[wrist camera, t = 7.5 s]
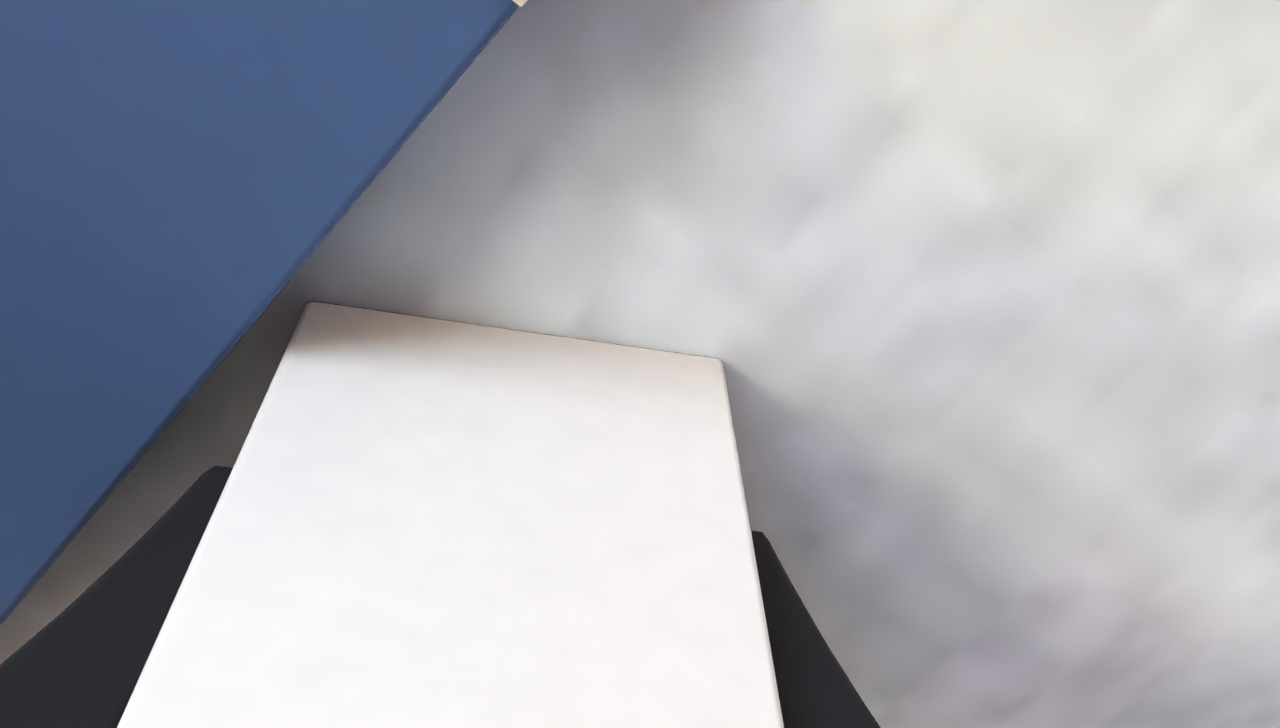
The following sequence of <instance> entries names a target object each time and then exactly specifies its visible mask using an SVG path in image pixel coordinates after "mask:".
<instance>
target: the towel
mask: <svg viewBox="0 0 1280 728" xmlns="http://www.w3.org/2000/svg"><path fill="white" fill-rule="evenodd" d="M527 1H528V0H0V626H1V624H2V623H3V622H4V621H5V620H6V618H7V617H8V616H9V615H10V614H11V612H12V611H13V610H14V609H15V608H16V606H17V605H18V604H19V603H20V602H21V600H22V599H23V598H24V597H25V596H26V594H27V593H28V592H29V591H30V590H31V589H32V587H33V586H34V585H35V584H36V583H37V581H38V580H39V579H40V578H41V577H42V575H43V574H44V573H45V572H46V571H47V569H48V568H49V567H50V566H51V565H52V563H53V562H54V561H55V560H56V559H57V557H58V556H59V555H60V554H61V553H62V551H63V550H64V549H65V548H66V547H67V546H68V544H69V543H70V542H71V541H72V540H73V538H74V537H75V536H76V535H77V534H78V532H79V531H80V530H81V529H82V528H83V526H84V525H85V524H86V523H87V522H88V520H89V519H90V518H91V517H92V516H93V514H94V513H95V512H96V511H97V510H98V508H99V507H100V506H101V505H102V504H103V503H104V501H105V500H106V499H107V498H108V497H109V495H110V494H111V493H112V492H113V491H114V489H115V488H116V487H117V486H118V485H119V483H120V482H121V481H122V480H123V479H124V477H125V476H126V475H127V474H128V473H129V471H130V470H131V469H132V468H133V467H134V465H135V464H136V463H137V462H138V461H139V460H140V458H141V457H142V456H143V455H144V454H145V452H146V451H147V450H148V449H149V448H150V446H151V445H152V444H153V443H154V442H155V440H156V439H157V438H158V437H159V436H160V434H161V433H162V432H163V431H164V430H165V428H166V427H167V426H168V425H169V424H170V422H171V421H172V420H173V419H174V418H175V417H176V415H177V414H178V413H179V412H180V411H181V409H182V408H183V407H184V406H185V405H186V403H187V402H188V401H189V400H190V399H191V397H192V396H193V395H194V394H195V393H196V391H197V390H198V389H199V388H200V387H201V385H202V384H203V383H204V382H205V381H206V380H207V378H208V377H209V376H210V375H211V374H212V372H213V371H214V370H215V369H216V368H217V366H218V365H219V364H220V363H221V362H222V360H223V359H224V358H225V357H226V356H227V354H228V353H229V352H230V351H231V350H232V348H233V347H234V346H235V345H236V344H237V342H238V341H239V340H240V339H241V338H242V337H243V335H244V334H245V333H246V332H247V331H248V329H249V328H250V327H251V326H252V325H253V323H254V322H255V321H256V320H257V319H258V317H259V316H260V315H261V314H262V313H263V311H264V310H265V309H266V308H267V307H268V305H269V304H270V303H271V302H272V301H273V299H274V298H275V297H276V296H277V295H278V294H279V292H280V291H281V290H282V289H283V288H284V286H285V285H286V284H287V283H288V282H289V280H290V279H291V278H292V277H293V276H294V274H295V273H296V272H297V271H298V270H299V268H300V267H301V266H302V265H303V264H304V262H305V261H306V260H307V259H308V258H309V256H310V255H311V254H312V253H313V252H314V251H315V249H316V248H317V247H318V246H319V245H320V243H321V242H322V241H323V240H324V239H325V237H326V236H327V235H328V234H329V233H330V231H331V230H332V229H333V228H334V227H335V225H336V224H337V223H338V222H339V221H340V219H341V218H342V217H343V216H344V215H345V213H346V212H347V211H348V210H349V209H350V208H351V206H352V205H353V204H354V203H355V202H356V200H357V199H358V198H359V197H360V196H361V194H362V193H363V192H364V191H365V190H366V188H367V187H368V186H369V185H370V184H371V182H372V181H373V180H374V179H375V178H376V176H377V175H378V174H379V173H380V172H381V171H382V169H383V168H384V167H385V166H386V165H387V163H388V162H389V161H390V160H391V159H392V157H393V156H394V155H395V154H396V153H397V151H398V150H399V149H400V148H401V147H402V145H403V144H404V143H405V142H406V141H407V139H408V138H409V137H410V136H411V135H412V133H413V132H414V131H415V130H416V129H417V128H418V126H419V125H420V124H421V123H422V122H423V120H424V119H425V118H426V117H427V116H428V114H429V113H430V112H431V111H432V110H433V108H434V107H435V106H436V105H437V104H438V102H439V101H440V100H441V99H442V98H443V96H444V95H445V94H446V93H447V92H448V90H449V89H450V88H451V87H452V86H453V85H454V83H455V82H456V81H457V80H458V79H459V77H460V76H461V75H462V74H463V73H464V71H465V70H466V69H467V68H468V67H469V65H470V64H471V63H472V62H473V61H474V59H475V58H476V57H477V56H478V55H479V53H480V52H481V51H482V50H483V49H484V47H485V46H486V45H487V44H488V43H489V42H490V40H491V39H492V38H493V37H494V36H495V34H496V33H497V32H498V31H499V30H500V28H501V27H502V26H503V25H504V24H505V22H506V21H507V20H508V19H509V18H510V16H511V15H512V14H513V13H514V12H515V10H516V9H517V8H518V7H523V6H524V4H525V3H526V2H527Z"/></svg>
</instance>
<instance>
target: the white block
mask: <svg viewBox="0 0 1280 728" xmlns="http://www.w3.org/2000/svg"><path fill="white" fill-rule="evenodd" d="M117 728H784V724H783V718H782V712H781V706H780V700H779V694H778V688H777V682H776V676H775V670H774V664H773V658H772V653H771V647H770V641H769V635H768V629H767V623H766V617H765V611H764V605H763V599H762V593H761V587H760V581H759V575H758V569H757V563H756V557H755V551H754V546H753V540H752V534H751V528H750V522H749V516H748V510H747V504H746V498H745V492H744V486H743V480H742V474H741V468H740V462H739V456H738V450H737V444H736V439H735V433H734V427H733V421H732V415H731V409H730V403H729V397H728V391H727V385H726V379H725V373H724V367H723V362H722V361H721V360H719V359H717V358H709V357H702V356H695V355H688V354H681V353H674V352H667V351H660V350H653V349H645V348H638V347H631V346H624V345H617V344H610V343H603V342H596V341H589V340H582V339H574V338H567V337H560V336H553V335H546V334H539V333H532V332H525V331H518V330H510V329H503V328H496V327H489V326H482V325H475V324H468V323H461V322H454V321H447V320H439V319H432V318H425V317H418V316H411V315H404V314H397V313H390V312H383V311H375V310H368V309H361V308H354V307H347V306H340V305H333V304H326V303H319V302H310V303H308V304H307V305H306V307H305V308H304V311H303V313H302V315H301V317H300V319H299V322H298V324H297V326H296V328H295V331H294V333H293V335H292V337H291V340H290V342H289V344H288V346H287V349H286V351H285V353H284V355H283V357H282V360H281V362H280V364H279V366H278V369H277V371H276V373H275V375H274V378H273V380H272V382H271V384H270V387H269V389H268V391H267V393H266V395H265V398H264V400H263V402H262V404H261V407H260V409H259V411H258V413H257V416H256V418H255V420H254V422H253V425H252V427H251V429H250V431H249V433H248V436H247V438H246V440H245V442H244V445H243V447H242V449H241V451H240V454H239V456H238V458H237V460H236V463H235V465H234V467H233V469H232V471H231V474H230V476H229V478H228V480H227V483H226V485H225V487H224V489H223V492H222V494H221V496H220V498H219V501H218V503H217V505H216V507H215V509H214V512H213V514H212V516H211V518H210V521H209V523H208V525H207V527H206V530H205V532H204V534H203V536H202V539H201V541H200V543H199V545H198V547H197V550H196V552H195V554H194V556H193V559H192V561H191V563H190V565H189V568H188V570H187V572H186V574H185V577H184V579H183V581H182V583H181V585H180V588H179V590H178V592H177V594H176V597H175V599H174V601H173V603H172V606H171V608H170V610H169V612H168V615H167V617H166V619H165V621H164V623H163V626H162V628H161V630H160V632H159V635H158V637H157V639H156V641H155V644H154V646H153V648H152V650H151V653H150V655H149V657H148V659H147V661H146V664H145V666H144V668H143V670H142V673H141V675H140V677H139V679H138V682H137V684H136V686H135V688H134V691H133V693H132V695H131V697H130V699H129V702H128V704H127V706H126V708H125V711H124V713H123V715H122V717H121V720H120V722H119V724H118V726H117Z"/></svg>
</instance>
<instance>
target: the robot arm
mask: <svg viewBox="0 0 1280 728" xmlns="http://www.w3.org/2000/svg"><path fill="white" fill-rule="evenodd" d="M232 469H233V468H229V467H221V466H214V467H212V468H211V469H209V470H208V471H206V472H205V473H203V474H202V475H201V476H200V478H199V479H198V480H197V481H196V482H195V483H194V484H193V485H192V486H191V487H190V488H189V489H188V490H187V491H186V493H185V494H184V495H183V496H182V497H181V498H180V499H179V500H178V501H177V502H176V503H175V504H174V505H173V506H172V507H171V508H170V509H169V510H168V511H167V512H166V513H165V514H164V516H163V517H162V518H161V519H160V520H159V521H158V522H157V523H156V524H155V525H154V526H153V527H152V528H151V529H150V530H149V531H148V532H147V533H146V534H145V535H144V536H143V537H142V538H141V539H140V540H139V541H138V542H137V543H136V544H135V545H134V546H133V547H132V548H131V549H129V550H128V551H127V552H126V553H125V554H124V555H123V556H122V557H121V558H120V559H119V560H118V561H117V562H116V563H115V564H114V565H113V566H112V567H111V568H110V569H108V570H107V571H106V572H105V573H104V574H103V575H102V576H101V577H100V578H99V579H98V580H97V581H96V582H95V583H93V584H92V585H91V586H90V587H89V588H88V589H87V590H86V591H85V592H84V593H83V594H82V595H81V596H79V597H78V598H77V599H76V600H75V601H74V602H73V603H72V604H71V605H70V606H69V607H68V608H66V609H65V610H64V611H63V612H62V613H61V614H60V615H59V616H57V617H56V618H55V619H54V620H53V621H52V622H50V623H49V624H48V625H47V626H46V627H45V628H43V629H42V630H41V631H40V632H39V633H37V634H36V635H35V636H34V637H33V638H31V639H30V640H29V641H28V642H27V643H26V644H24V645H23V646H22V647H21V648H20V649H18V650H17V651H16V652H15V653H14V654H13V655H11V656H10V657H9V658H8V659H7V660H5V661H4V662H3V663H2V664H1V665H0V728H117V726H118V724H119V722H120V720H121V717H122V715H123V713H124V711H125V708H126V706H127V704H128V702H129V699H130V697H131V695H132V693H133V691H134V688H135V686H136V684H137V682H138V679H139V677H140V675H141V673H142V670H143V668H144V666H145V664H146V661H147V659H148V657H149V655H150V653H151V650H152V648H153V646H154V644H155V641H156V639H157V637H158V635H159V632H160V630H161V628H162V626H163V623H164V621H165V619H166V617H167V615H168V612H169V610H170V608H171V606H172V603H173V601H174V599H175V597H176V594H177V592H178V590H179V588H180V585H181V583H182V581H183V579H184V577H185V574H186V572H187V570H188V568H189V565H190V563H191V561H192V559H193V556H194V554H195V552H196V550H197V547H198V545H199V543H200V541H201V539H202V536H203V534H204V532H205V530H206V527H207V525H208V523H209V521H210V518H211V516H212V514H213V512H214V509H215V507H216V505H217V503H218V501H219V498H220V496H221V494H222V492H223V489H224V487H225V485H226V483H227V480H228V478H229V476H230V474H231V471H232ZM751 534H752V540H753V546H754V551H755V557H756V563H757V569H758V575H759V581H760V587H761V593H762V599H763V605H764V611H765V617H766V623H767V629H768V635H769V641H770V647H771V653H772V658H773V664H774V670H775V676H776V682H777V688H778V694H779V700H780V706H781V712H782V718H783V724H784V728H880V726H879V725H878V723H877V722H876V720H875V719H874V717H873V716H872V714H871V713H870V711H869V710H868V708H867V707H866V705H865V704H864V702H863V701H862V699H861V698H860V696H859V694H858V693H857V691H856V690H855V688H854V687H853V685H852V683H851V682H850V680H849V679H848V677H847V675H846V674H845V672H844V671H843V669H842V668H841V666H840V664H839V663H838V661H837V660H836V658H835V657H834V655H833V653H832V652H831V650H830V648H829V647H828V645H827V643H826V642H825V640H824V638H823V637H822V635H821V633H820V632H819V630H818V628H817V627H816V625H815V623H814V621H813V620H812V618H811V616H810V615H809V613H808V611H807V609H806V608H805V606H804V604H803V602H802V601H801V599H800V597H799V595H798V593H797V592H796V590H795V588H794V586H793V585H792V583H791V581H790V579H789V577H788V575H787V574H786V572H785V570H784V568H783V566H782V565H781V563H780V561H779V559H778V557H777V555H776V553H775V552H774V550H773V548H772V546H771V544H770V542H769V541H768V539H767V538H766V537H765V535H764V534H763V533H762V532H757V531H751Z"/></svg>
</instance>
